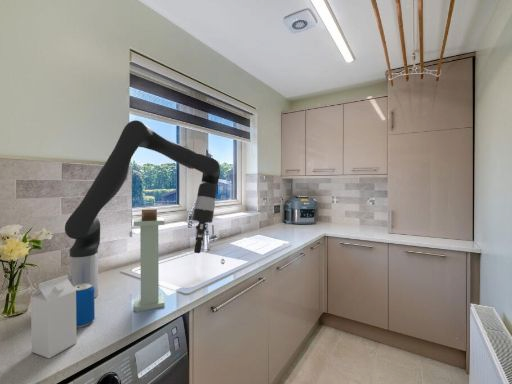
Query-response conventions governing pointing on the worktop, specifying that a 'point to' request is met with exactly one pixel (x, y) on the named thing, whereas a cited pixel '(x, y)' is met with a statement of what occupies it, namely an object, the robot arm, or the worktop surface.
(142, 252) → the shelf stand
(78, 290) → the beverage can
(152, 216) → the walnut rail
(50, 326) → the milk carton
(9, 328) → the worktop surface
